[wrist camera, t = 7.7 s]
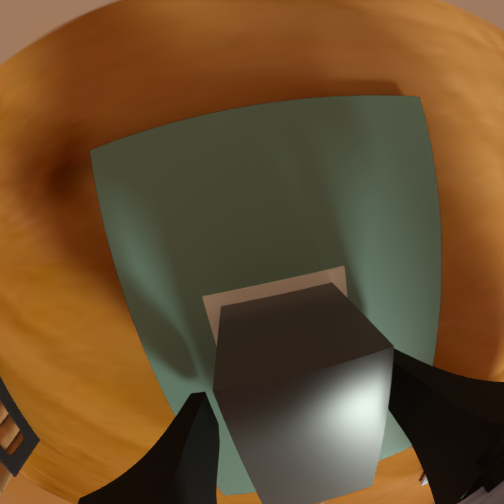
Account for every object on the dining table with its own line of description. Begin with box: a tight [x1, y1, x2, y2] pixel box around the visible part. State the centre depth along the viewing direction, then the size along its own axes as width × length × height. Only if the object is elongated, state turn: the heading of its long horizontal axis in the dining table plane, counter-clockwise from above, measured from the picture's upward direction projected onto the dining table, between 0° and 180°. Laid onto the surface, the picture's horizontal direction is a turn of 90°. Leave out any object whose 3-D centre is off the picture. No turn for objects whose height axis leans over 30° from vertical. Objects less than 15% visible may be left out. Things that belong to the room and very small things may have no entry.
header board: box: [90, 95, 442, 495], centre depth 11 cm, size 22×14×4 cm, turn 11°
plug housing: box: [213, 282, 394, 504], centre depth 10 cm, size 11×4×5 cm, turn 11°
